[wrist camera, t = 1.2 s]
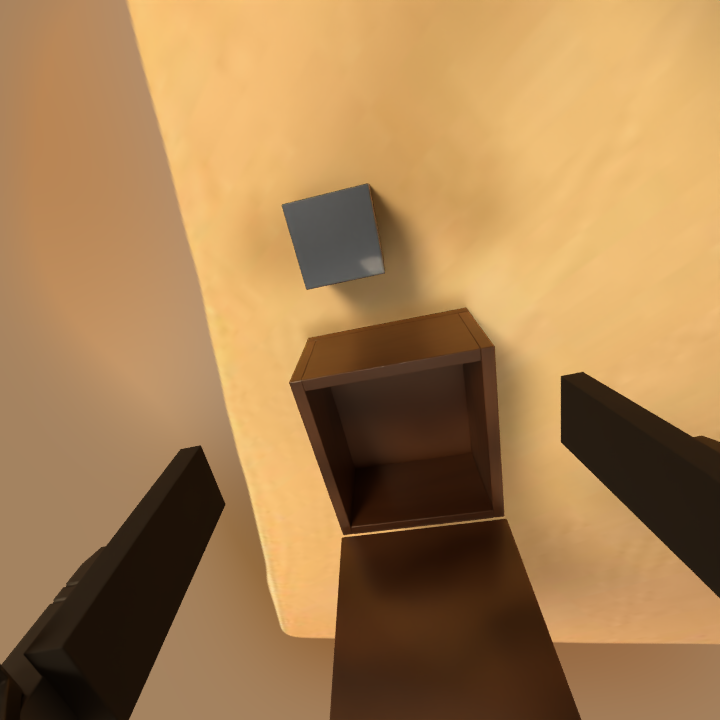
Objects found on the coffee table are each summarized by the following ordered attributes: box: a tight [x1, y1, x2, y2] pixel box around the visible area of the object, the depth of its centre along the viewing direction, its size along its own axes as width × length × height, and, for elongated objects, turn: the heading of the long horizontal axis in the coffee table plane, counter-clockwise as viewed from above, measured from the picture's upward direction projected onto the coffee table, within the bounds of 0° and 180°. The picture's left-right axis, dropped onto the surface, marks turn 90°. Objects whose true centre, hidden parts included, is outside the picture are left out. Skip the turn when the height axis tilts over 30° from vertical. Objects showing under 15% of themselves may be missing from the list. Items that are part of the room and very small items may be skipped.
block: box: [282, 184, 385, 290], centre depth 25 cm, size 6×6×5 cm
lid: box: [330, 519, 581, 720], centre depth 22 cm, size 17×14×1 cm
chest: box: [289, 308, 504, 535], centre depth 30 cm, size 16×14×8 cm
